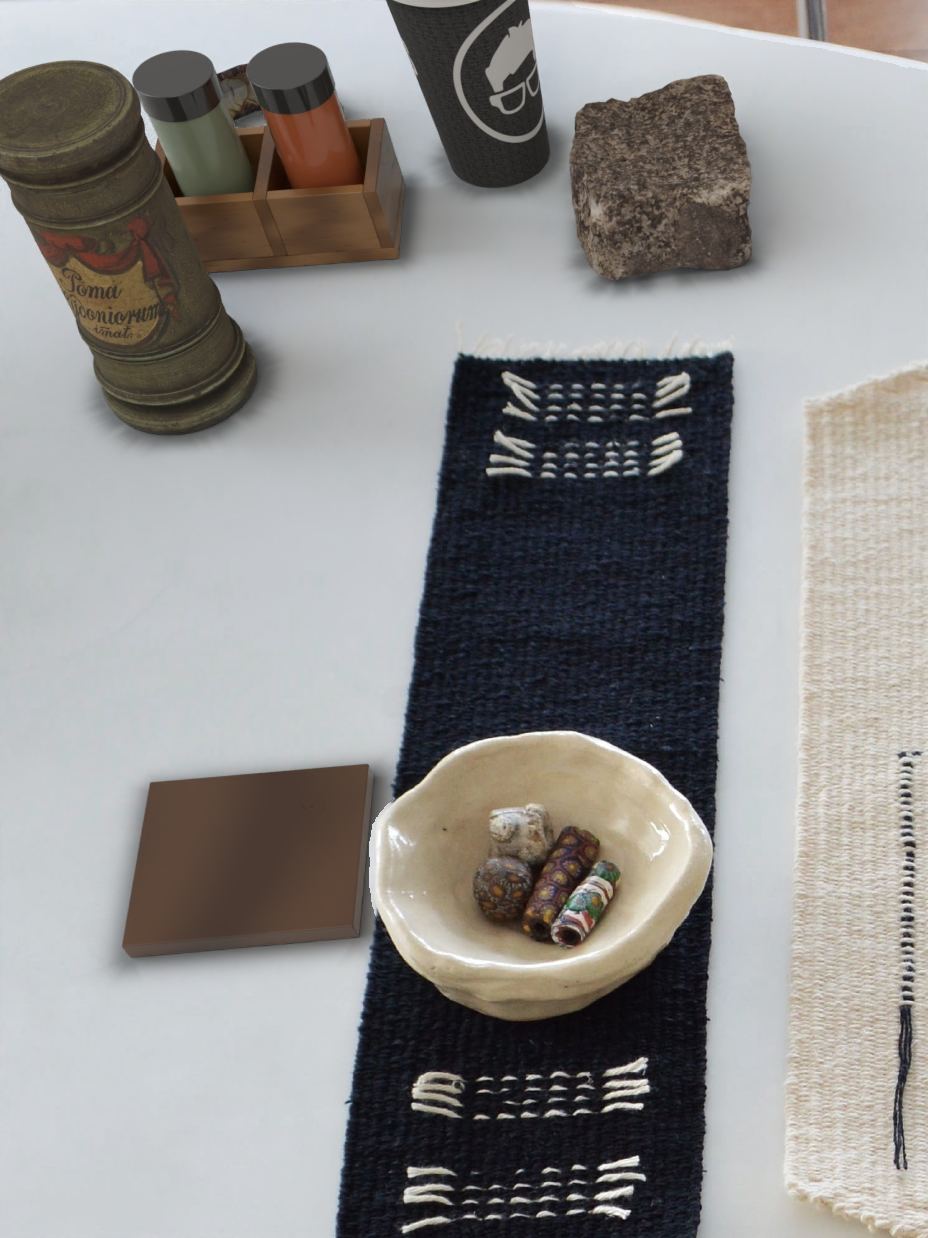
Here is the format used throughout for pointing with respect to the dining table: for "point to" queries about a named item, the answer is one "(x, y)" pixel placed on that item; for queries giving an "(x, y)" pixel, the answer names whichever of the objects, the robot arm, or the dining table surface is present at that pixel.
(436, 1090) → the dining table surface
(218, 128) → the jar
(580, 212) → the stone
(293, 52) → the spice jar
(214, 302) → the container
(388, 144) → the spice rack
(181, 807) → the board
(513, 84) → the coffee cup
